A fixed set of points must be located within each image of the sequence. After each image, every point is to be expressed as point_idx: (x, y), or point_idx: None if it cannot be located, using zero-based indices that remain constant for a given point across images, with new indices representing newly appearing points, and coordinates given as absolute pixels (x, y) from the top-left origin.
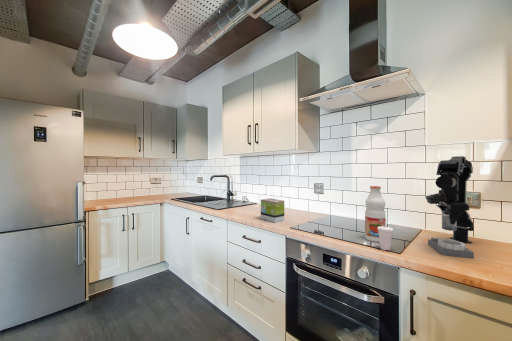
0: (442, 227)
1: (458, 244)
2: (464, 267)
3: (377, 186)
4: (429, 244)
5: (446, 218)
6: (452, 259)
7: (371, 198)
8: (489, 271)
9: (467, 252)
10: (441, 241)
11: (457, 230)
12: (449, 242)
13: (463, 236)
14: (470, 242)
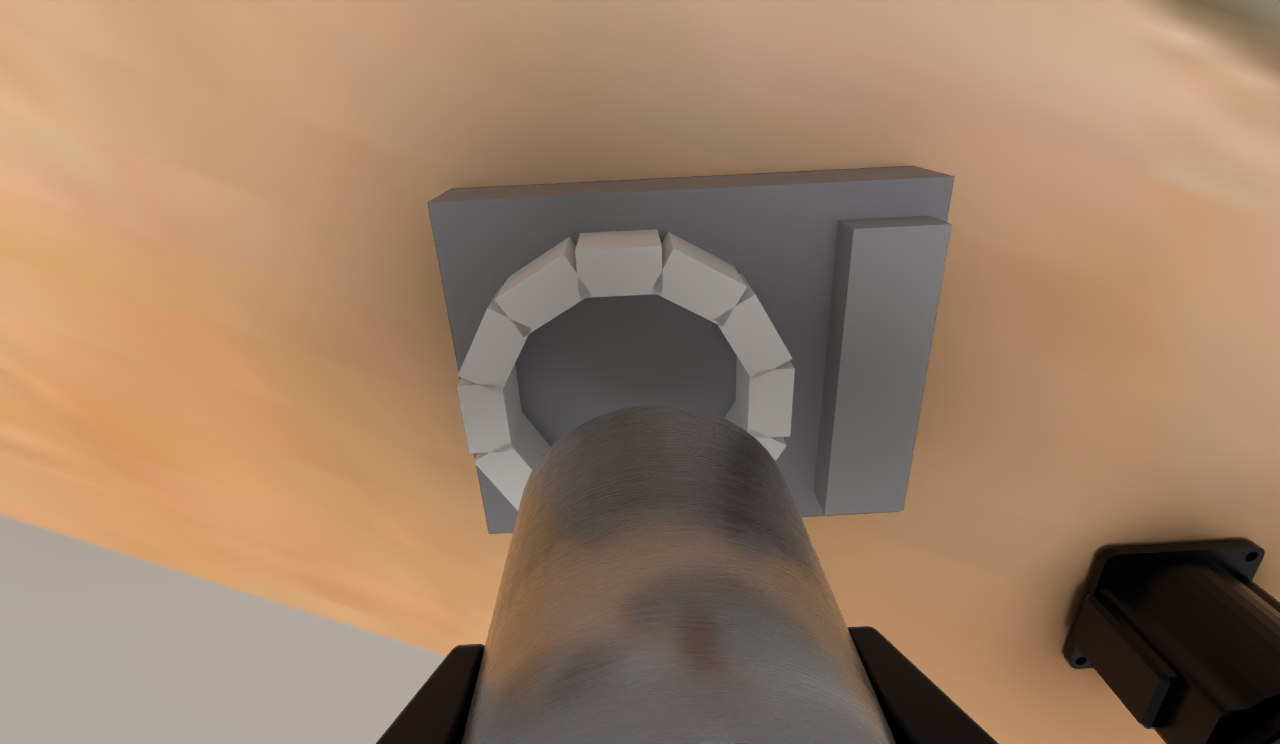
0: (636, 424)
1: None
2: (83, 288)
3: None
4: (860, 170)
5: (485, 730)
6: (320, 262)
7: None
8: (137, 469)
9: (481, 477)
10: (608, 282)
11: (1247, 682)
12: (739, 410)
13: (1124, 660)
14: (1066, 654)
